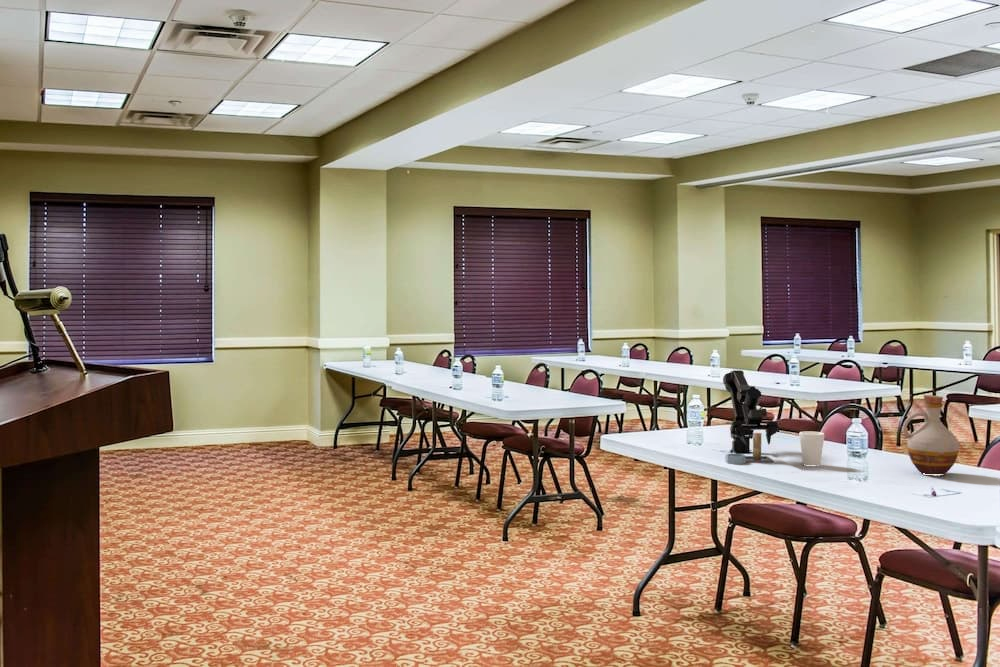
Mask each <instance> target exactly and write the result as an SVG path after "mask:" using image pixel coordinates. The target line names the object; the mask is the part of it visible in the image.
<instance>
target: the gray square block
mask: <svg viewBox="0 0 1000 667" xmlns="http://www.w3.org/2000/svg"><path fill="white" fill-rule="evenodd" d="M745 456H746V455H745V454H744V453H727V454H725V463H726V464H730V465H743V464H746V462H745Z"/></svg>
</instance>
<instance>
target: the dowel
mask: <svg viewBox="0 0 1000 667" xmlns="http://www.w3.org/2000/svg"><path fill="white" fill-rule="evenodd" d="M752 439H753V440H752V442H753V443H752V456H753V460H761V456H762V433H761V432H753V438H752Z"/></svg>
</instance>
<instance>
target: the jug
mask: <svg viewBox="0 0 1000 667" xmlns="http://www.w3.org/2000/svg"><path fill="white" fill-rule="evenodd" d="M943 399H944V396H940V395H931V394H923V400H924V402H923V407H924V408H925V412H924V411H915V412H914V413H911V414H910V415H909V416H908V417H907V418H906V419H905V420H904V422H903V424H902V432H903V435H904V436H905V437H907V442H906V447H907V448H906V450H907V453H908V457H909V459H910V461H911V463H912V464H913V466H914V467H915V468H916V470H917V471H918V472H919V473H920V472H921V473H925V474H945V473H948V472H949V471H950V469H951V468H952V467H954V465H955V463H956V460H957V459H958V456H959V452H960V451H959V450H960V443H959V441H958V439H957V437H956V435H955V434H954V433H952V431H951V430H949V428H947V427H946V426H945V425H944V424H943V422H941V410H942V408H943V406H944V404H943ZM919 416H922V417H923V418H924V422H923V423H922V424H921V425H920V426H918V427H917V428H916V429H915V430H914V431H913V432H911V433H908V431H907V430H908V428H907V427H908V425H909V423H910V422H911V421H912V420H913V419H915V418H916V417H919ZM921 473H920V474H921ZM945 475H946V474H945Z"/></svg>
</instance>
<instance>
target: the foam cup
mask: <svg viewBox="0 0 1000 667" xmlns="http://www.w3.org/2000/svg"><path fill="white" fill-rule="evenodd" d="M798 436H799V437H798V438H799V440H800V449H801V457H802V464H805V465H820V466H821V461H822V454H823V447H824V441H825V433H824V432H821V431H811V430H810V431H806V430H805V431H800V432H799V434H798Z"/></svg>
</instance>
